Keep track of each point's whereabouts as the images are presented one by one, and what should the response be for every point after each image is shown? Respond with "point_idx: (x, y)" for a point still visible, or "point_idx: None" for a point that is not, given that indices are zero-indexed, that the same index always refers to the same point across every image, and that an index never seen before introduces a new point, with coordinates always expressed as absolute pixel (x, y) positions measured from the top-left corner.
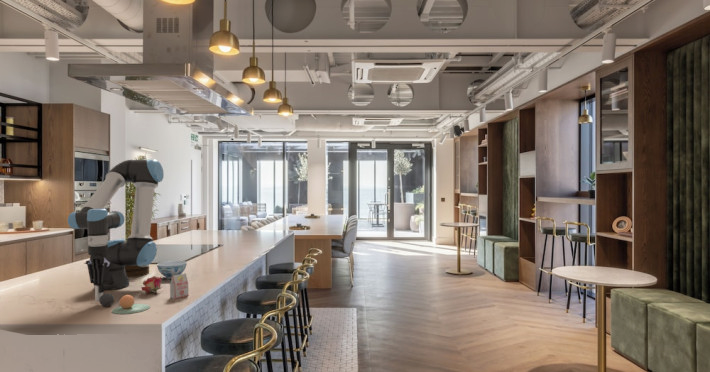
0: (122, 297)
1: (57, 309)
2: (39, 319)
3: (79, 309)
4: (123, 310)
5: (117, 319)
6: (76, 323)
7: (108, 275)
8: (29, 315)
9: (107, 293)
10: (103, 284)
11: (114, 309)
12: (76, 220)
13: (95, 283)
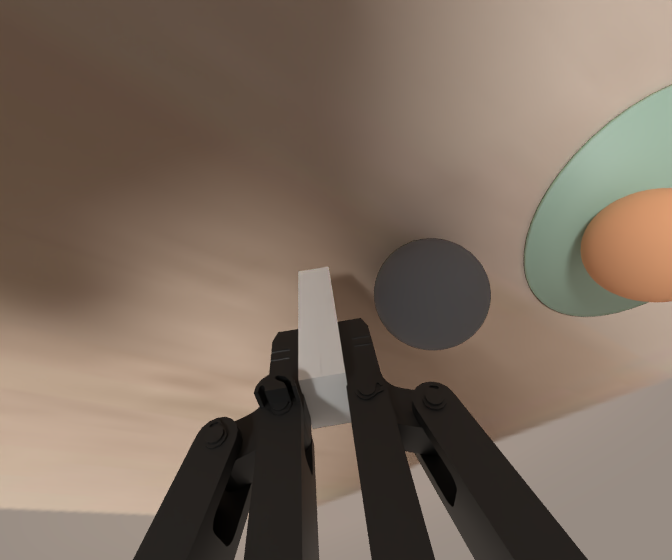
0: (666, 299)
1: None
2: (327, 476)
3: None
4: None
5: (667, 346)
6: (517, 433)
7: (543, 506)
8: None
9: (464, 330)
10: (391, 389)
11: (542, 286)
12: None
13: (313, 447)
